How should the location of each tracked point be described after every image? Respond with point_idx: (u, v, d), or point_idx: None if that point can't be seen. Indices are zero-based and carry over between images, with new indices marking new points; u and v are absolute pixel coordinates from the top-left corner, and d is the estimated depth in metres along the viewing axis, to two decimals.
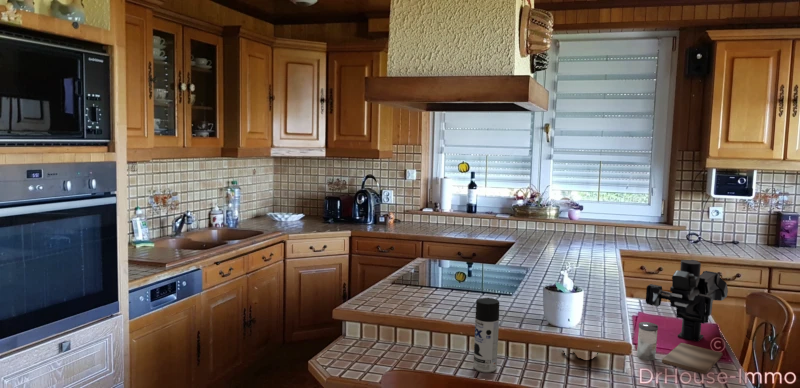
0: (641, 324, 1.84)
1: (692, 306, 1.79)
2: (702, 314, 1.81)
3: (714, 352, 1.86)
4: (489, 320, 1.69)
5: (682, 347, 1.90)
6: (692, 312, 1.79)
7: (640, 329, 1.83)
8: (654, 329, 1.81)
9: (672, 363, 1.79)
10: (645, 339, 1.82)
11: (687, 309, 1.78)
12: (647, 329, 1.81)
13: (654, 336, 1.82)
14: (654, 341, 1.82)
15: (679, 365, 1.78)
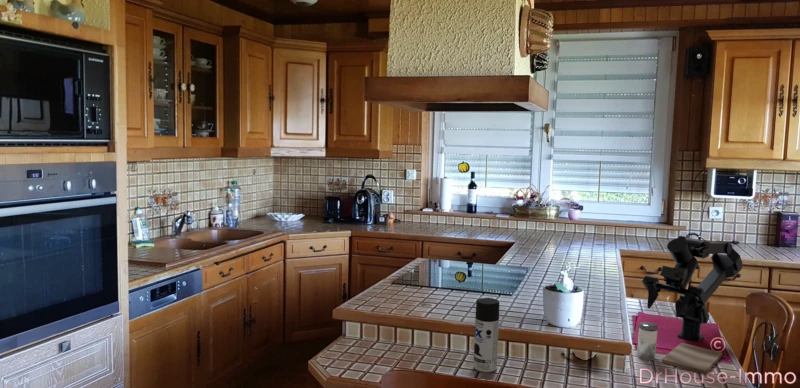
0: (641, 324, 1.84)
1: (683, 307, 1.84)
2: (697, 305, 1.85)
3: (714, 352, 1.86)
4: (489, 320, 1.69)
5: (682, 347, 1.90)
6: (685, 310, 1.85)
7: (640, 329, 1.83)
8: (654, 329, 1.81)
9: (672, 363, 1.79)
10: (645, 339, 1.82)
11: (678, 314, 1.84)
12: (647, 329, 1.81)
13: (654, 336, 1.82)
14: (654, 341, 1.82)
15: (679, 365, 1.78)
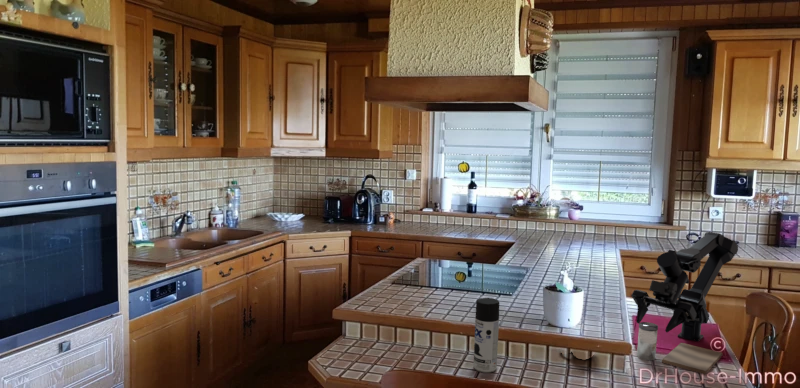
0: (641, 324, 1.84)
1: (672, 323, 1.81)
2: (687, 320, 1.82)
3: (714, 352, 1.86)
4: (489, 320, 1.69)
5: (682, 347, 1.90)
6: (675, 326, 1.82)
7: (640, 329, 1.83)
8: (654, 329, 1.81)
9: (672, 363, 1.79)
10: (645, 339, 1.82)
11: (668, 329, 1.81)
12: (647, 329, 1.81)
13: (654, 336, 1.82)
14: (654, 341, 1.82)
15: (679, 365, 1.78)
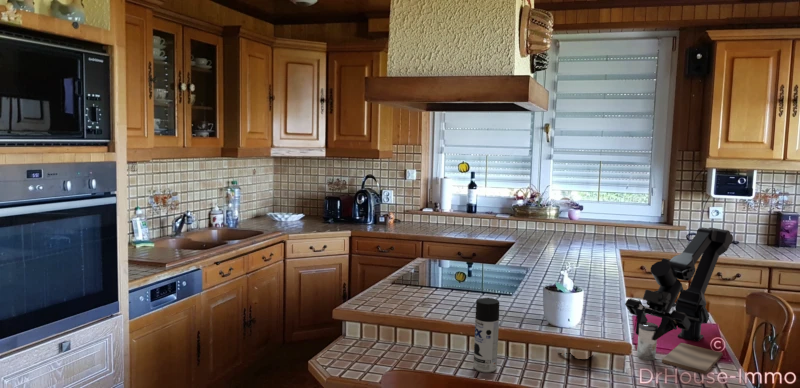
0: (641, 324, 1.84)
1: (660, 331, 1.81)
2: (675, 328, 1.82)
3: (714, 352, 1.86)
4: (489, 320, 1.69)
5: (682, 347, 1.90)
6: (663, 334, 1.82)
7: (640, 329, 1.83)
8: (654, 329, 1.81)
9: (672, 363, 1.79)
10: (645, 339, 1.82)
11: (655, 338, 1.81)
12: (647, 329, 1.81)
13: None
14: (654, 341, 1.82)
15: (679, 365, 1.78)
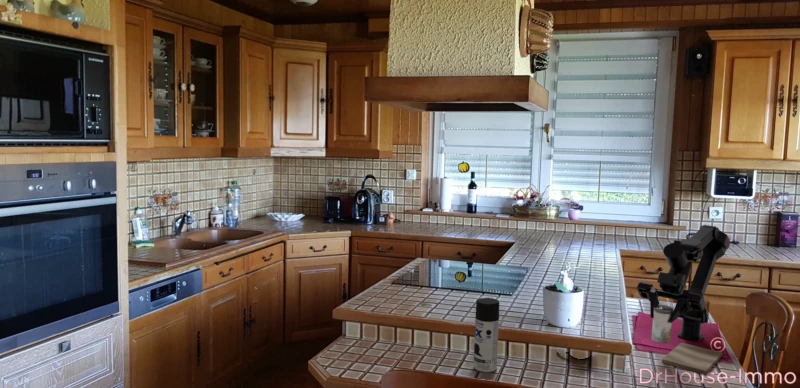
0: (656, 307, 1.82)
1: (676, 313, 1.79)
2: (689, 310, 1.81)
3: (714, 352, 1.86)
4: (489, 320, 1.69)
5: (682, 347, 1.90)
6: (678, 316, 1.80)
7: (656, 312, 1.81)
8: (670, 311, 1.79)
9: (672, 363, 1.79)
10: (661, 322, 1.80)
11: (672, 320, 1.79)
12: (663, 312, 1.79)
13: None
14: (670, 324, 1.80)
15: (679, 365, 1.78)
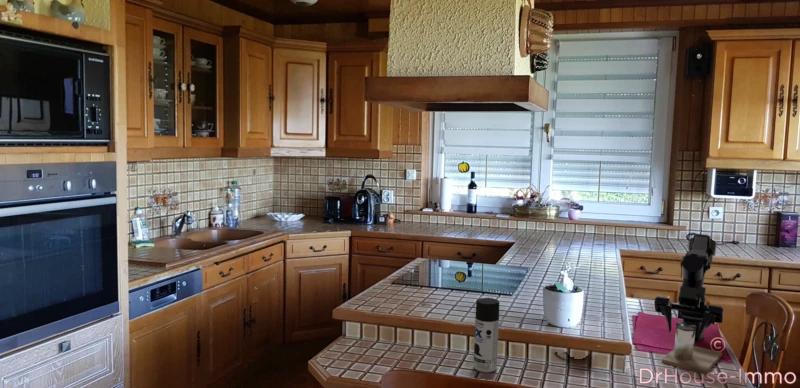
0: (679, 325, 1.81)
1: (704, 327, 1.79)
2: (713, 323, 1.82)
3: (714, 352, 1.86)
4: (489, 320, 1.69)
5: None
6: (704, 330, 1.80)
7: (681, 330, 1.80)
8: (694, 329, 1.79)
9: (672, 363, 1.79)
10: (686, 339, 1.79)
11: (700, 335, 1.78)
12: (688, 329, 1.79)
13: (694, 335, 1.80)
14: (693, 340, 1.80)
15: (679, 365, 1.78)
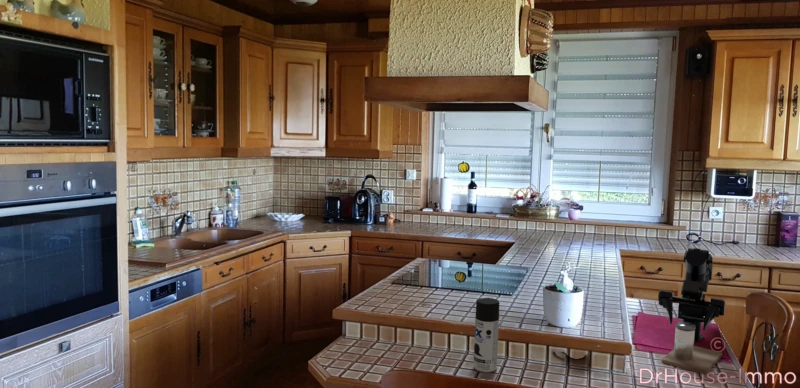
0: (679, 325, 1.81)
1: (708, 320, 1.84)
2: (717, 316, 1.87)
3: (714, 352, 1.86)
4: (489, 320, 1.69)
5: None
6: (709, 322, 1.86)
7: (680, 330, 1.80)
8: (694, 328, 1.79)
9: (672, 363, 1.79)
10: (686, 339, 1.79)
11: (705, 327, 1.84)
12: (688, 329, 1.79)
13: (693, 335, 1.80)
14: (693, 340, 1.80)
15: (679, 365, 1.78)
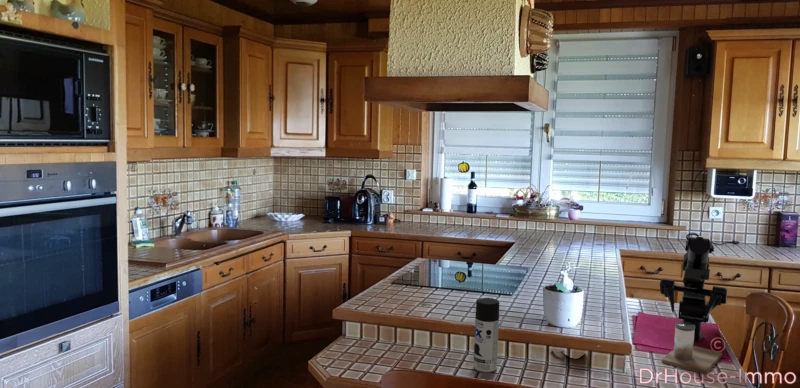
0: (678, 325, 1.81)
1: (710, 308, 1.84)
2: (719, 304, 1.87)
3: (714, 352, 1.86)
4: (489, 320, 1.69)
5: None
6: None
7: (680, 330, 1.80)
8: (694, 328, 1.79)
9: (672, 363, 1.79)
10: (686, 339, 1.79)
11: (707, 315, 1.83)
12: (688, 329, 1.79)
13: (693, 335, 1.80)
14: (693, 340, 1.80)
15: (679, 365, 1.78)
